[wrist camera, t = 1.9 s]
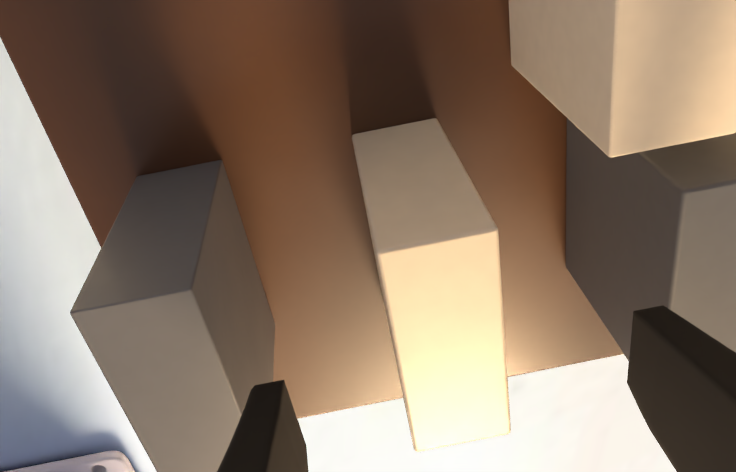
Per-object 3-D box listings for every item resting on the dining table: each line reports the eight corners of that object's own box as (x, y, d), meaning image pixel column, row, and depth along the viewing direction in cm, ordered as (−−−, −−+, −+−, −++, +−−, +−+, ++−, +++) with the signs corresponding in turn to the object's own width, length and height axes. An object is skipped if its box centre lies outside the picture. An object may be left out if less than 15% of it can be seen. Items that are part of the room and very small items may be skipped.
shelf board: (196, 419, 23) (192, 440, 22) (-81, -179, 13) (-106, -182, 12) (662, 326, 23) (677, 344, 22) (742, -341, 13) (773, -355, 12)
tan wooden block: (383, 302, 20) (415, 454, 15) (351, 133, 17) (376, 252, 12) (456, 288, 20) (511, 434, 15) (436, 116, 17) (499, 227, 12)
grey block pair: (203, 338, 20) (172, 501, 15) (136, 175, 17) (68, 312, 12) (636, 252, 20) (753, 386, 15) (651, 74, 17) (806, 167, 12)
